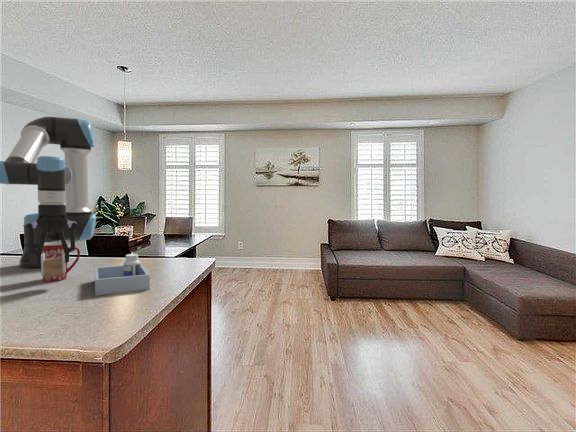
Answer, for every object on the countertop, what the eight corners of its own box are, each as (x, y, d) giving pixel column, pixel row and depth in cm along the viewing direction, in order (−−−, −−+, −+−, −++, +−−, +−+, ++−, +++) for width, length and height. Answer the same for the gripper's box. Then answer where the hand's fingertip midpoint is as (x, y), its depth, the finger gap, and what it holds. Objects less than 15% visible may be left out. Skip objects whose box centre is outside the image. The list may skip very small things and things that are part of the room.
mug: (37, 283, 117) (36, 245, 117) (41, 277, 125) (40, 242, 124) (79, 279, 124) (79, 243, 123) (80, 274, 131) (80, 240, 131)
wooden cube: (45, 273, 113) (45, 258, 112) (63, 271, 115) (62, 257, 115) (43, 276, 109) (43, 261, 108) (62, 275, 111) (61, 260, 111)
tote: (94, 281, 122) (94, 267, 122) (141, 276, 130) (141, 264, 130) (95, 295, 105) (95, 279, 105) (149, 289, 113) (149, 274, 113)
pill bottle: (137, 279, 123) (137, 253, 123) (142, 282, 119) (142, 255, 119) (121, 281, 120) (121, 254, 119) (126, 284, 116) (126, 256, 115)
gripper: (15, 204, 102) (17, 278, 104) (83, 204, 112) (84, 272, 114) (19, 202, 109) (21, 272, 111) (84, 203, 118) (85, 267, 120)
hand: (53, 272), depth 112 cm, fingers closed on wooden cube, 5 cm apart
